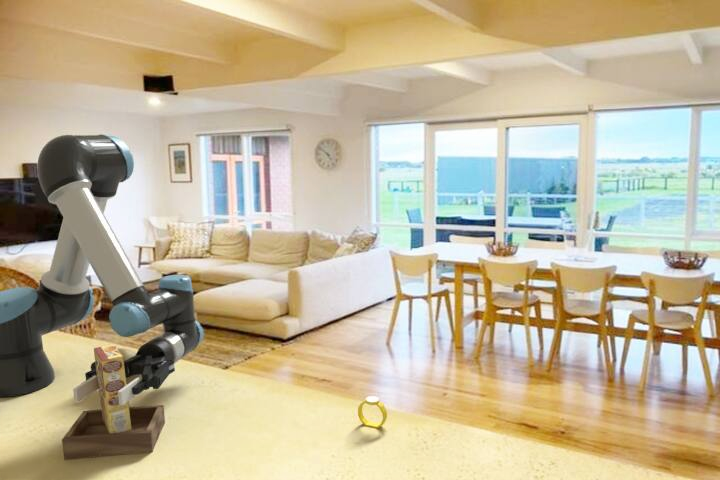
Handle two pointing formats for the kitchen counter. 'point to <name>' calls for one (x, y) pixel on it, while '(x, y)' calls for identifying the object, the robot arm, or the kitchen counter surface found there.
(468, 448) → the kitchen counter surface
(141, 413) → the tray
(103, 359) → the candy box
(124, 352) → the round plush toy
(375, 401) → the gold gem ring
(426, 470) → the kitchen counter surface
